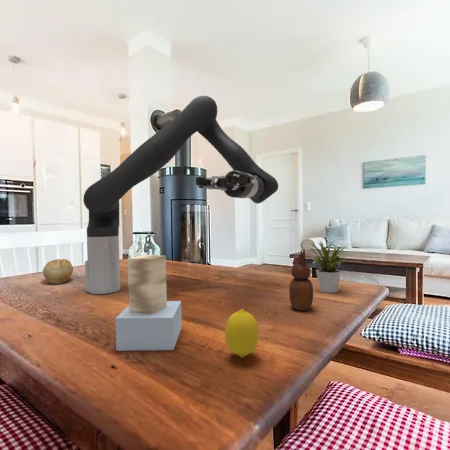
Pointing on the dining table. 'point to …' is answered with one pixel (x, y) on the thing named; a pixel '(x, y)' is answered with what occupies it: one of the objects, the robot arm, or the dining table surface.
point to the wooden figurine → (301, 285)
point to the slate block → (149, 329)
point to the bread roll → (58, 271)
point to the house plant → (328, 268)
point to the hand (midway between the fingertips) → (211, 179)
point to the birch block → (147, 283)
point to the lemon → (242, 333)
